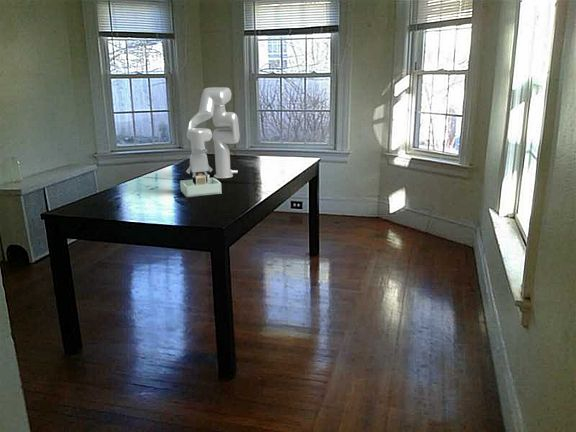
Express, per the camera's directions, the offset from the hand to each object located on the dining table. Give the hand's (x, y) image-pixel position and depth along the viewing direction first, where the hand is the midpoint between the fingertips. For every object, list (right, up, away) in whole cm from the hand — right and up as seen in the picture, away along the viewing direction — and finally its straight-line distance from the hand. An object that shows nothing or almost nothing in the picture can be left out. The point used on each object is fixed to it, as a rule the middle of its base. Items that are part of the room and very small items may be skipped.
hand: (200, 183), depth 298 cm
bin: (0, -5, +1) cm, 5 cm away
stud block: (+1, 0, +20) cm, 20 cm away
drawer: (0, -2, +1) cm, 3 cm away
